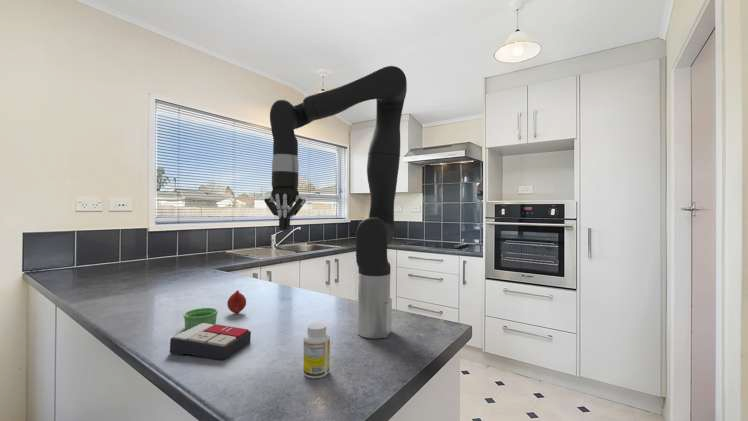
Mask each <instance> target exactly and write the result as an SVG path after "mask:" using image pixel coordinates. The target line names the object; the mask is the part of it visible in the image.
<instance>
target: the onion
mask: <svg viewBox="0 0 748 421" xmlns="http://www.w3.org/2000/svg"><path fill="white" fill-rule="evenodd" d="M226 303H227V308H228V310H229V311H230V312H232V313H233V314H235V315H239V314H240V313H241V312H242V311H243V310H244V308H246V305H247V299H246V297H245V295H244V294H242V293H241V292H240V290H235V292H234V293H232V294H231V295H230V297H229V298H228V300H227V302H226Z"/></svg>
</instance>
